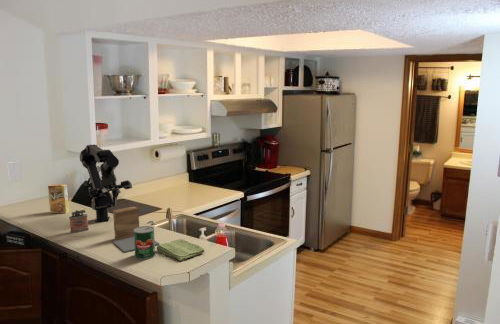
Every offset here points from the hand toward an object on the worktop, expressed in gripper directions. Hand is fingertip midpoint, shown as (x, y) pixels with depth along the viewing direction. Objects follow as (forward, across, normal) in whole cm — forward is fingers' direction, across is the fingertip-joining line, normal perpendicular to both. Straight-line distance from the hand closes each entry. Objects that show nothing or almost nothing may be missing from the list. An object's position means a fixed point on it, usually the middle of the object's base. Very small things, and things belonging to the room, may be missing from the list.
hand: (114, 206), depth 199 cm
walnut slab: (+16, +4, -3) cm, 17 cm away
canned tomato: (+29, +13, -24) cm, 39 cm away
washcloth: (+31, +26, -21) cm, 46 cm away
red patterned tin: (+6, -19, +7) cm, 21 cm away
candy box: (-14, -36, +37) cm, 54 cm away
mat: (+21, +8, -11) cm, 25 cm away
